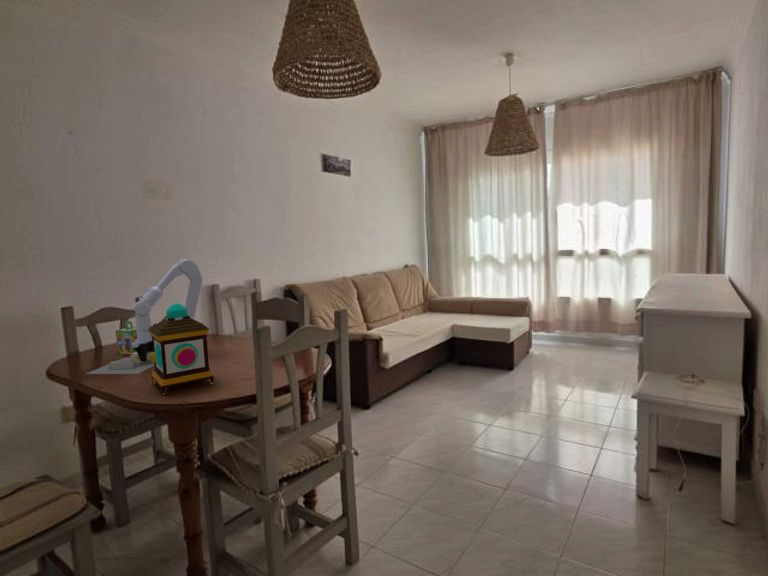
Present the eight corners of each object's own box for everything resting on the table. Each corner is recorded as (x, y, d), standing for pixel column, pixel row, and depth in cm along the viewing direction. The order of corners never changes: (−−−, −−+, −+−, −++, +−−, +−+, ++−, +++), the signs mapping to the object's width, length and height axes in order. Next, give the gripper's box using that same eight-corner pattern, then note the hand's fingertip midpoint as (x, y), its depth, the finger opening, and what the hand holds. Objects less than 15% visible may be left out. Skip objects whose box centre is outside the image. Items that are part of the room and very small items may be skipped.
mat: (171, 358, 200) (171, 357, 200) (137, 375, 177) (137, 373, 177) (125, 358, 203) (125, 357, 202) (85, 375, 179) (85, 373, 179)
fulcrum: (138, 366, 187) (137, 360, 186) (131, 369, 183) (131, 363, 182) (115, 366, 188) (114, 360, 187) (108, 369, 184) (108, 363, 183)
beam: (162, 360, 196) (162, 351, 195) (157, 363, 192) (156, 353, 191) (136, 360, 197) (136, 351, 196) (130, 363, 193) (130, 354, 192)
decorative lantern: (147, 384, 165) (139, 303, 162) (203, 373, 177) (197, 297, 174) (158, 398, 150) (150, 309, 146) (219, 385, 161) (213, 302, 158)
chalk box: (134, 355, 209) (131, 324, 207) (116, 355, 210) (113, 323, 208) (147, 350, 218) (145, 320, 216) (130, 350, 219) (128, 320, 217)
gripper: (145, 325, 200) (148, 355, 202) (123, 332, 186) (127, 364, 187) (160, 325, 199) (163, 355, 201) (140, 332, 185) (143, 364, 187)
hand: (146, 359), depth 194 cm, fingers closed on beam, 4 cm apart
